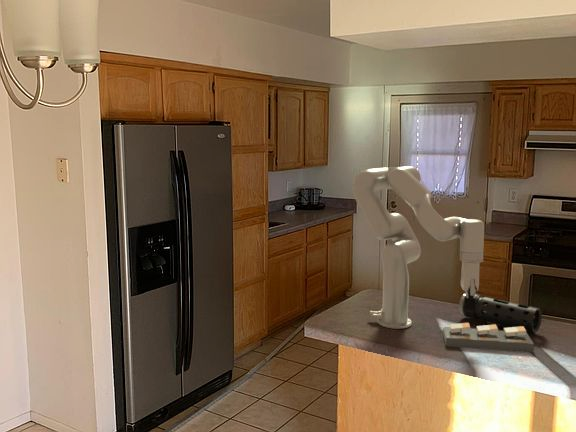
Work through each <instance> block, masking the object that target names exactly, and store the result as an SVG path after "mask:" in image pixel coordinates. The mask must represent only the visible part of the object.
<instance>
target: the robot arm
mask: <svg viewBox="0 0 576 432" xmlns="http://www.w3.org/2000/svg"><path fill="white" fill-rule="evenodd" d="M421 177H422V176H421V172H420V171H419V170H418V169H417V168H416V167H414V166H410V165H406V166H405V165H404V166H396V167H395V166H394V167H393V166H391V167H376V168H367V169H364V170H361V171H359V173H357V174H356V176H355V177H354V179H353V182H352V194H353V197H354V200H355V202H356V203H357V205H358V207H359V208H360V210H361V212H362V214H363V215H364V218H365V220H366V222H367V223H368V226H369V227H370V229H371V232H372V233H373V234H374V237H375V238H376V239H377V240H379V241H388V240H391V242H388V243H387V244H386V245H385V246H384V247H383V249H382V251H381V263H382V268H383V269H382V273H383V274H382V301H381V302H382V305H381V306H382V307H381V309H380V310H378V311H377V310H376V311H375V310H370V311H369V316H370V317H372V318H375V319H377V324H379V326H381V327H384V328H388V329H395V330H397V329H398V330H399V329H407V328H409V327H411V326H413V325H412V323H413V322H412V320H411V319H410V318H409V317H408V314H409V296H410V295H409V293H410V291H409V290H410V274H409V269H408V264H410V263H413V262H416V261H418V259H419V258H420V257H421V254H422V249H421V248H422V247H421V245H420V241H419V240H418V238H417V235H416V234H415V233H414V231H413V229H412V227H411V225H410V223H409V221H408V220H407V218H406V217H405V216H404V215H403V214H401V213H398V212H389V210H388V208H387V207H386V206H385V203H384V201H383V200H382V199H381V198H380V196H378V195H377V193H376V192H378V191H384V190H393V191H394V192H395V193H396V194H397V195H398V196H399V197H400V198H401V199H403V201H404V202H405V203H406V204H407V205H408V206H409V207H410V208H412V210H413V212H414V215H415V217H416V220H417V222H418V224H420V226H421V227H422V228H423V229H424V230H425V232H427V233H428V234H429V235H430V236H431V237H433V238H434V239H435V240H437V241H439V242H448V241H451V240H455V239H460V242H459V243H460V244H459V261H460V262H461V273H460V286H461V289H462V290H463V291H464V292H465V293H464V294H465V296H466V297H465V309H469V310H474V309H475V294H476V292H478V291H479V287H480V265H481V264H480V263H482V262H484V248H485V247H484V245H485V244H484V243H485V241H484V240H485V222H484V221H483V220H480V219H475V218H469V219H468V218H463V217H459V216H450V217H446V218H444V217H443V216H442V215H440V214H439V213H438V212H437V211H436V209H434V206H433V205H432V202H431V198H432V193H431V191H430V190H429V189H428V188H427V187H426V186H425V185H424V184H422V182H421V180H422V179H421Z"/></svg>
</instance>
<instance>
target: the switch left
mask: <svg viewBox="0 0 576 432" xmlns="http://www.w3.org/2000/svg"><path fill="white" fill-rule="evenodd" d="M449 327H450V330H451V333H453V332H464V331H471V329H472V328H471V326H470V323H469V322H461V323H451V324H449Z"/></svg>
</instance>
